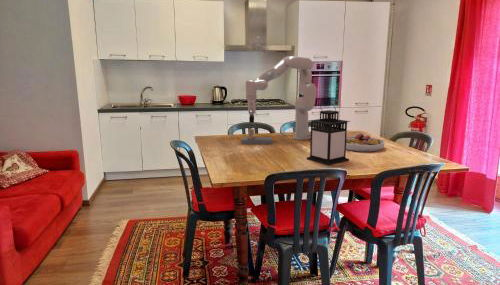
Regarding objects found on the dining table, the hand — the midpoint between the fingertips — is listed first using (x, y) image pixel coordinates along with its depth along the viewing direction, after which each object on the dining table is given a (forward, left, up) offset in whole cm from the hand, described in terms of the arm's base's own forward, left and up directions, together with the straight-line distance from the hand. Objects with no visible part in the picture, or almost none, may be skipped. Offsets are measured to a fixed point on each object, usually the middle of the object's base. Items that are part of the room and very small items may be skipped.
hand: (251, 121), depth 263 cm
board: (-4, 0, -15) cm, 16 cm away
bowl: (-74, +17, -16) cm, 78 cm away
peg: (0, 0, -16) cm, 16 cm away
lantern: (-46, +51, -16) cm, 70 cm away
